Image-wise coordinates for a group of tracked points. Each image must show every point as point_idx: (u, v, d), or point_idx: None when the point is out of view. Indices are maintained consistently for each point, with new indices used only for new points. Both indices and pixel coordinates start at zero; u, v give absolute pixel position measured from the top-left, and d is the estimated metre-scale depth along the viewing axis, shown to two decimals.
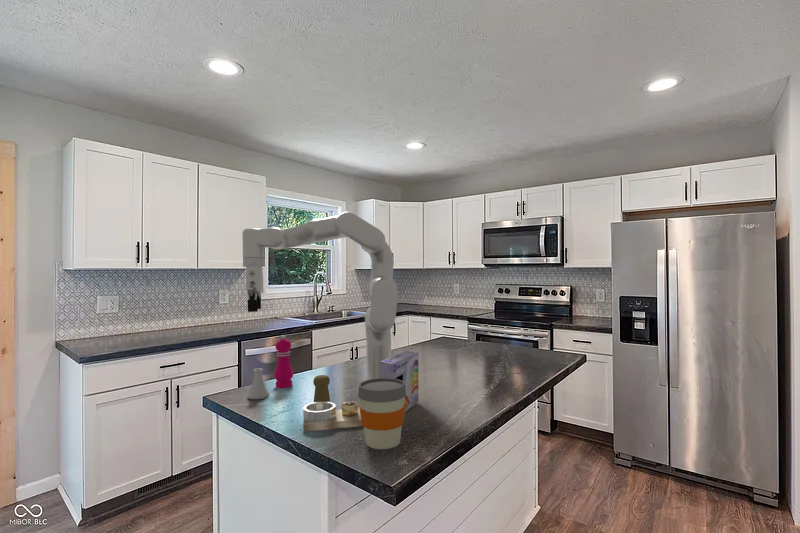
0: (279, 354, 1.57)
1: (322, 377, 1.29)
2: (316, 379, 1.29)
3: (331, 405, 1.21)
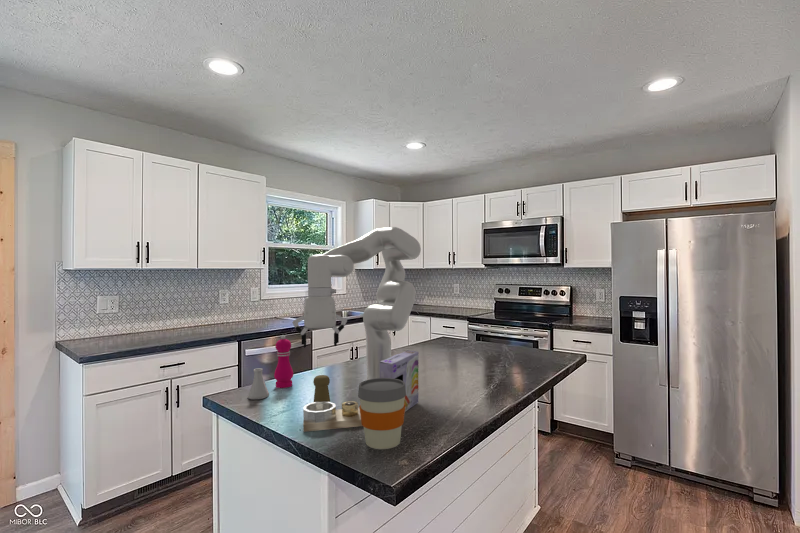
0: (279, 354, 1.57)
1: (322, 377, 1.29)
2: (316, 379, 1.29)
3: (331, 405, 1.21)
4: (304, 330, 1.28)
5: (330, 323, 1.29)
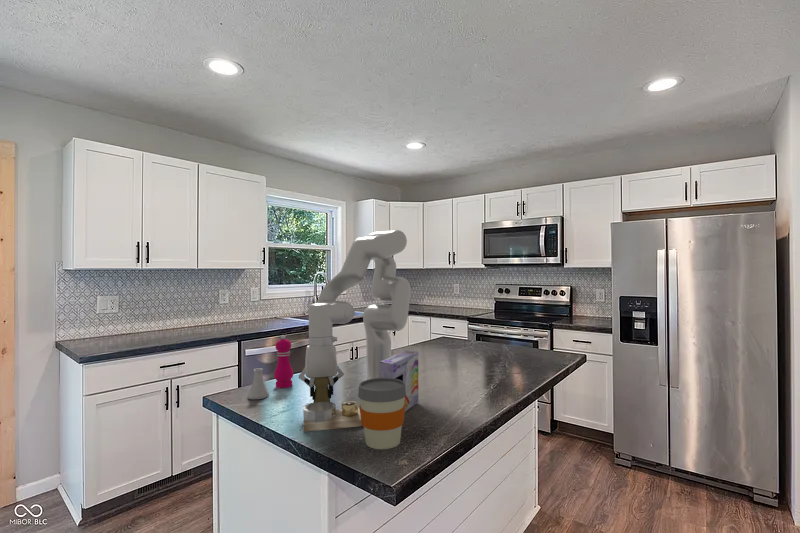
0: (279, 354, 1.57)
1: (322, 377, 1.29)
2: (316, 379, 1.29)
3: (331, 405, 1.21)
4: (312, 382, 1.29)
5: (331, 372, 1.29)
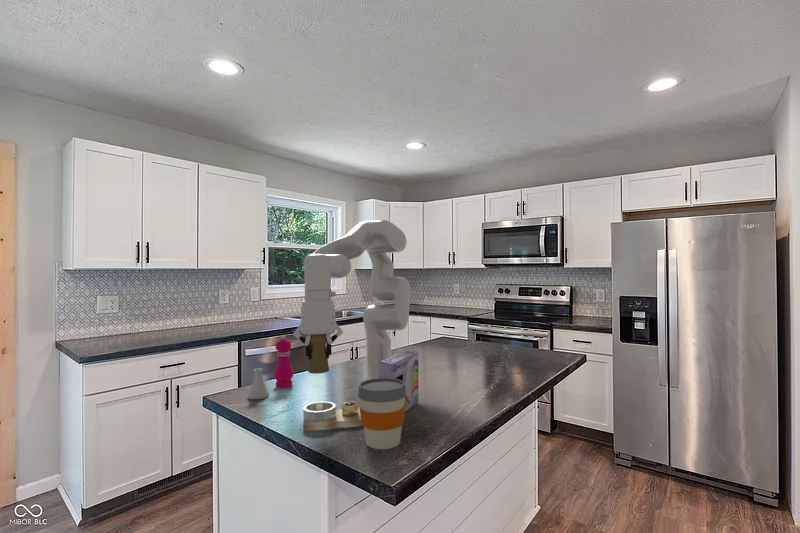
0: (279, 354, 1.57)
1: None
2: (312, 336, 1.17)
3: (331, 405, 1.21)
4: (309, 340, 1.17)
5: (329, 329, 1.18)
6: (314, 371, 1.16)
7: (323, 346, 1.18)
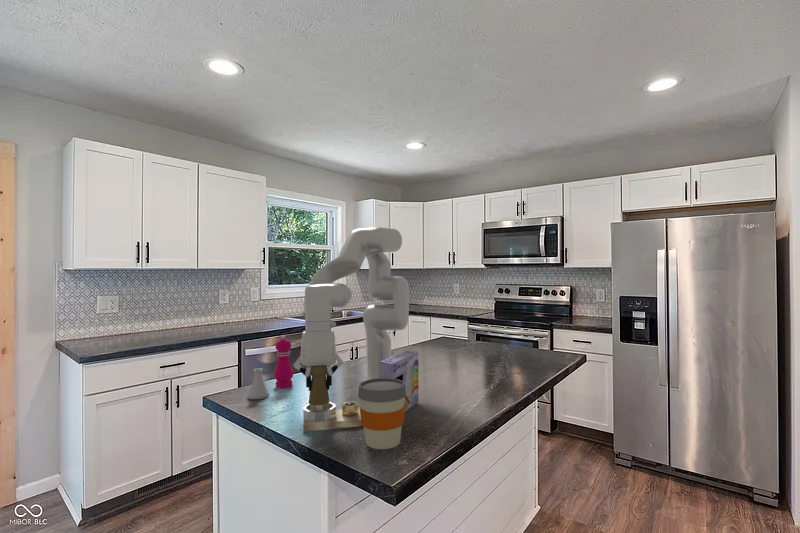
0: (279, 354, 1.57)
1: (319, 366, 1.17)
2: (313, 368, 1.17)
3: (331, 405, 1.21)
4: (309, 372, 1.17)
5: (330, 360, 1.17)
6: (314, 403, 1.16)
7: (323, 377, 1.17)
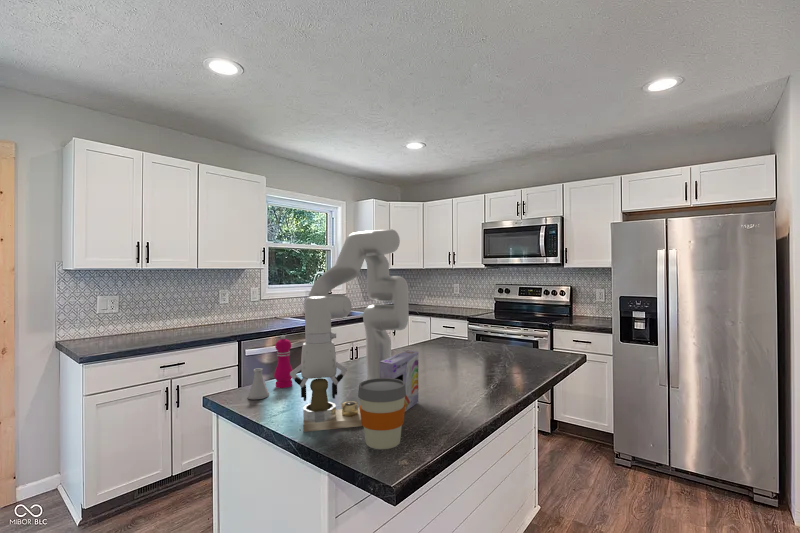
0: (279, 354, 1.57)
1: (320, 381, 1.17)
2: (313, 383, 1.17)
3: (331, 405, 1.21)
4: (304, 382, 1.17)
5: (330, 372, 1.17)
6: None
7: (324, 392, 1.18)
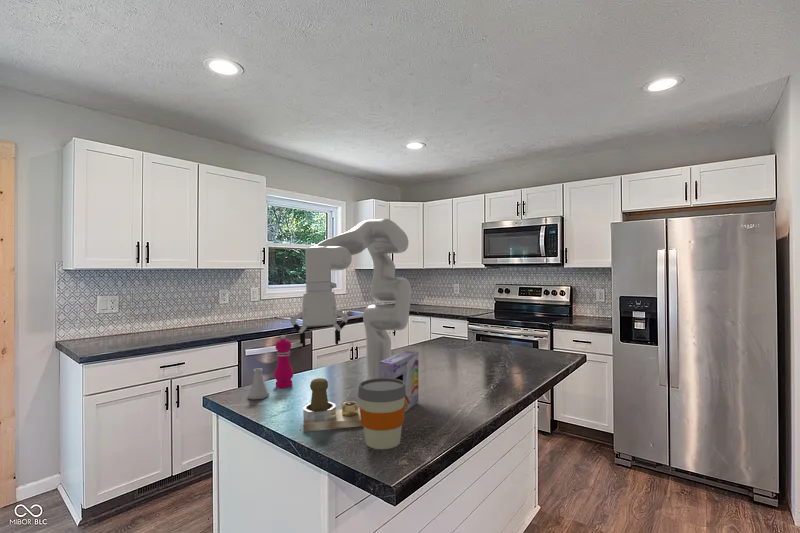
0: (279, 354, 1.57)
1: (320, 381, 1.17)
2: (313, 383, 1.17)
3: (331, 405, 1.21)
4: (303, 328, 1.19)
5: (331, 320, 1.20)
6: None
7: (324, 392, 1.18)
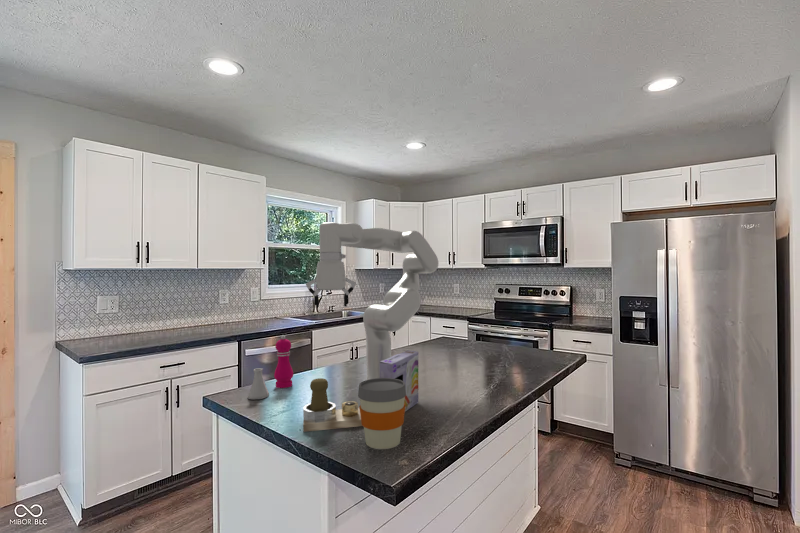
0: (279, 354, 1.57)
1: (320, 381, 1.17)
2: (313, 383, 1.17)
3: (331, 405, 1.21)
4: (317, 291, 1.39)
5: (340, 285, 1.40)
6: None
7: (324, 392, 1.18)
